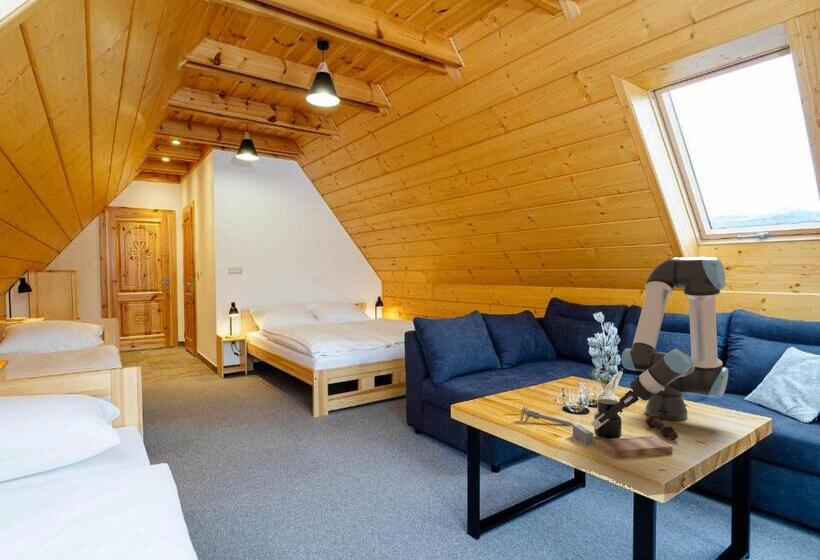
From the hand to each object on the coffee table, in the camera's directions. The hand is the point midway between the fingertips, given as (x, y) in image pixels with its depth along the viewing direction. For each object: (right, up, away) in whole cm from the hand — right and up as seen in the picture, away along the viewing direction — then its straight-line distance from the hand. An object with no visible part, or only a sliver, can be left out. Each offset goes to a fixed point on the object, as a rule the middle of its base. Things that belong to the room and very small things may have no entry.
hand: (598, 422), depth 171 cm
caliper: (-14, -5, +15) cm, 21 cm away
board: (+7, -5, -13) cm, 15 cm away
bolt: (+24, -5, +2) cm, 25 cm away
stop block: (-7, -5, -3) cm, 9 cm away
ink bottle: (+3, -4, -2) cm, 5 cm away
